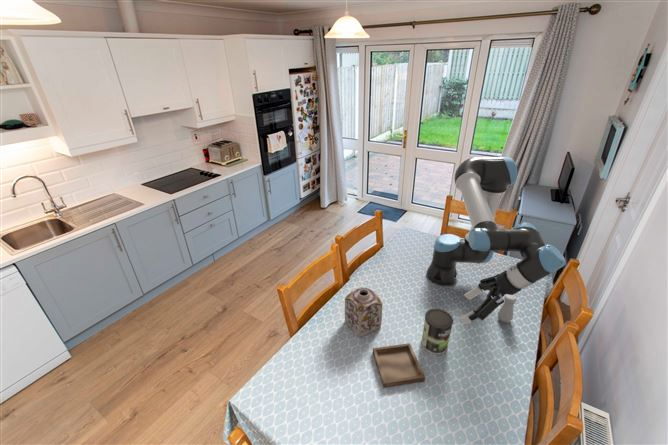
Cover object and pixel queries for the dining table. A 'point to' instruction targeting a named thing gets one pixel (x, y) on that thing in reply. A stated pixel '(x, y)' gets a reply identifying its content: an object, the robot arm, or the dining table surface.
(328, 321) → the dining table surface
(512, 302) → the salt shaker
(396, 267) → the dining table surface
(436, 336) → the coffee can
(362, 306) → the decorative jar
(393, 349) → the holder tray
